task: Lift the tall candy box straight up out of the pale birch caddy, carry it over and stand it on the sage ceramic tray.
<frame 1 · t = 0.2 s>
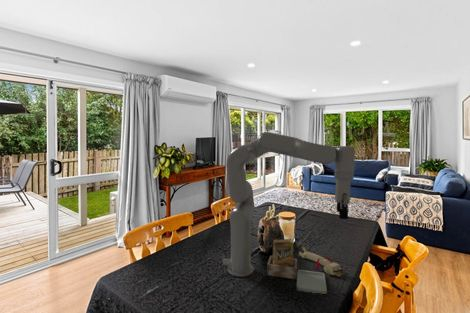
hand: (341, 215, 112), 31 cm above the table, tool pointing down, fingers open, 9 cm apart
cat figure: (319, 266, 131), on the table
tray: (311, 282, 116), on the table
caddy: (282, 271, 125), on the table
candy box: (282, 272, 125), resting in caddy
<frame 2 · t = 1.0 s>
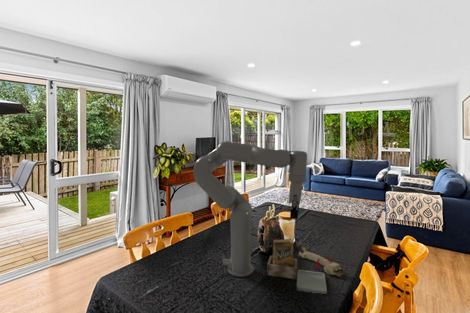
hand: (294, 215, 120), 28 cm above the table, tool pointing down, fingers open, 9 cm apart
nothing on the table moved.
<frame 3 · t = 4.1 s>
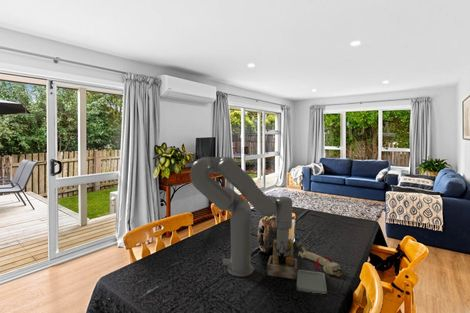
hand: (282, 260, 124), 5 cm above the table, tool pointing down, fingers closed on candy box, 5 cm apart
candy box: (282, 272, 125), resting in caddy, touching gripper
everything else where it was.
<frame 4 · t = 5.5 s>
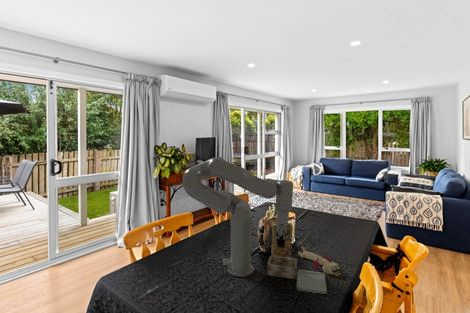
hand: (281, 244, 124), 13 cm above the table, tool pointing down, fingers closed on candy box, 5 cm apart
candy box: (280, 255, 124), point 8 cm above the table, touching gripper
everything else where it was.
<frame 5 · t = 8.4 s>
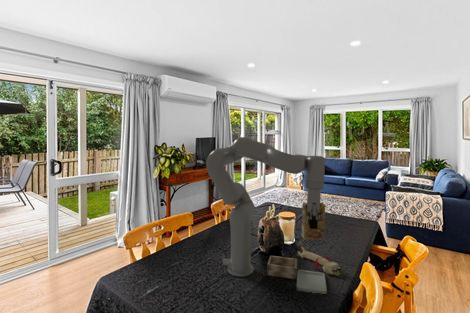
hand: (313, 225, 114), 26 cm above the table, tool pointing down, fingers closed on candy box, 5 cm apart
candy box: (312, 238, 114), point 20 cm above the table, touching gripper
everything else where it was.
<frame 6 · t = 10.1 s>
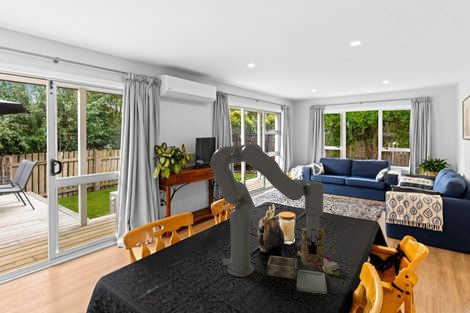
hand: (312, 250, 114), 15 cm above the table, tool pointing down, fingers closed on candy box, 5 cm apart
candy box: (312, 263, 115), point 9 cm above the table, touching gripper
everything else where it was.
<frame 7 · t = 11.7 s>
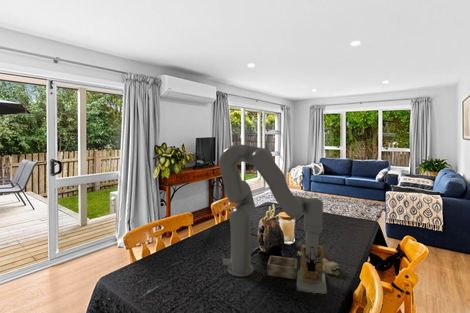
hand: (311, 267, 115), 7 cm above the table, tool pointing down, fingers closed on candy box, 5 cm apart
candy box: (310, 279, 116), point 1 cm above the table, touching gripper
when the fingers open (7 cm above the table, at t = 12.0 s): candy box stays where it is, resting on tray.
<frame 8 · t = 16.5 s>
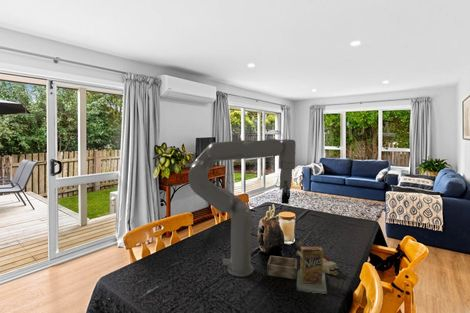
hand: (285, 201, 126), 33 cm above the table, tool pointing down, fingers open, 9 cm apart
candy box: (310, 281, 116), resting on tray
at the end: candy box inside the target area on the tray (0.2 cm from its centre), point 0.4 cm above the tray's base; candy box tilted 0°; the gripper is holding nothing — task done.
